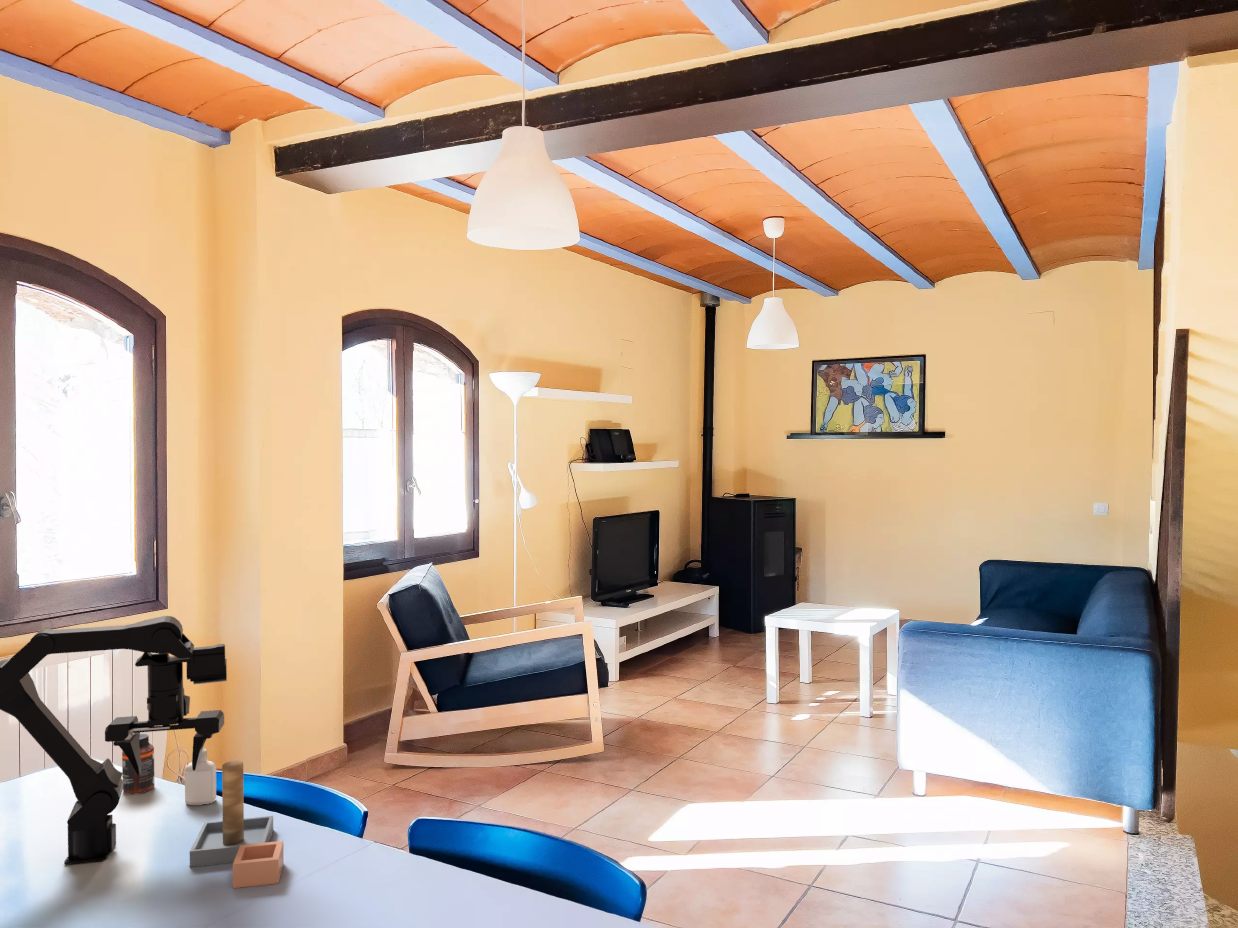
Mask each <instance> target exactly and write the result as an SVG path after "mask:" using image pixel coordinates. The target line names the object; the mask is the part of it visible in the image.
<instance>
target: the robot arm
mask: <svg viewBox="0 0 1238 928" xmlns="http://www.w3.org/2000/svg"><path fill="white" fill-rule="evenodd" d="M183 629H184V628H183V625H182V624H181V622H180V620H178V619H177V618H176V617H174V616H173V615H172V616H171V615H163V616H158V617H153V618H148V619H144V620H141V621H138V622H135V623H134V622H133V623H130V624H129V623H128V624H125V625H111V626H109V625H108V626H94V627H93V626H92V627H75V628H62V629H59V628H58V629H52V628H44V629H41V630H39V631H37V632H36V634H34V635H33V636H32V638H30V640H29V641H28V642H27V643H26V644H25V645H23V646H22V647H21V648H20V649H19V650H18V651H17V652H16V653H15V654H14V655H13V656H11V658H8V659H4V660H0V711H2V712H4V713H6V714H8V715H10V716H11V717H14V718H15V719H16V720H17V721H18V722H19V724H20V725H22V727H23V728H24V729H25V730H26V731H27V732H28V733H29V735H30V736H31V737H32V738H33V739H34V741H36V743H37V744H38V745H39V746H40V747H41V748H42V750H43V751H44V752H45V753H46V754H47V755H48V756H49V757H50V759H51V760H52V761H53V762H54V763H55V764H56V765H57V767H58V768H60V770H61V772H63V773H64V774H65V776H66V777H67V779H68V780H69V783H70V784H71V785H70V786H71V788H72V790H73V793H74V796H75V799H76V801H75V803H74V805H73V807H72V809H71V812H70V814H69V817H68V819H67V821H66V822H67V857H66V858H65V860H64V861H63V862H64V865H71V864H83V863H91V862H101V861H105V860H107V859H108V857H109V856H110V854H112V852H113V850H114V849H115V848H116V846H117V824H116V823H113V814H111V813H112V812H113V811H114V810H115V809H117V807H118V804H119V803H120V799H121V797H122V792H123V777H122V774H123V773H122V771H119V770H118V769H117V768H115V766H114V764H113V762H112V760H111V759H110V758H109V757H108V758H106V759H105V760H104V761H103V762H102V763H101V762H100V761H98V760H96V759H94V758H92V757H91V756H90V755H89V754H88V752H87V751H85V749H84V748H83V747H82V746H81V745H80V743H79V742H78V741H77V740H76V738H74V737H73V735H72V734H71V733H70V732H69V730H67V728H66V727H65V726H64V725H63V724H62V723H61V722H60V720H59V719H58V718H57V716H55V714H53V712H52V711H51V709H49V708H48V706H47V705H46V704H45V703H44V702H43V700H41V698H40V696H39V693H38V690H37V687H36V686H35V685H36V684H35V682H34V680H33V678H32V676H31V675H30V672H31V671H32V670H33V669H34V668H35V667H36V666H37V665H38V664H39V663H40V662H41V661H43V659H45V658H46V657H47V656H49V655H54V654H55V655H56V654H69V653H83V652H98V651H112V650H113V651H114V650H130V651H135V652H141V653H143V654H142V655H141V656H140V657H138V658H137V659H136V660H135V664H134V665H135V667H138V668H139V667H146V666H147V697H146V705H147V706H146V707H147V708H146V710H147V712H148V715H147V716H148V719H147V720H145V721H139V719H138V715H134V716H133V715H131V716H119V717H115V718H114V719H113V720H112V721H111V722H110V723H109V724H108V725H107V726H106V727H105V730H104V741H105V742H107V743H110V742H111V743H112V742H113V743H112V744H113V746H115V747H119V748H120V749H121V751H123V752H124V753H125V755H126V756H127V757H128V759H129V761H130V763H131V764H132V766H133V768H134V770H135V772H136V774H137V775H140V774H141V756H140V747H139V738H140V734H141V733H152V732H163V731H165V732H166V731H177V730H190V729H192V730H193V729H194V731H195V732H196V733H195V735H194V736H193V739H192V741H193V742H192V744H193V745H192V755H191V756H192V758H191V762H192V768H193V770H196V767H197V764H198V761H199V758H200V755H201V752H202V749H203V748H204V745H205V743H206V741H207V740H208V739H211V738H212V737H213V736H214V734H218V733H220V731H221V729H222V728H223V726H224V725H225V713H224V712H223V711H222V709H216V710H204V711H200V712H199V713H198V715H197V717H186V716H187V715H188V714H190V703H191V697H190V696H189V695H185V688H184V663H186V680H189V682H192V683H193V685H201V684H211V683H220V682H221V683H222V682H227V677H228V675H227V674H228V673H227V672H228V670H227V668H228V667H227V661H228V659H227V658H226V644H224V643H220V644H219V643H218V644H215V645H210V646H198V647H197V646H196V647H195V644H194V643H193V642H192V641H191V640H190V639H189V638H188V637H187V636H186V635H185V634H184V633H183V632H184V630H183ZM170 655H171V656H170ZM184 717H185V718H184Z"/></svg>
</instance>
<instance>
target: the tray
mask: <svg viewBox="0 0 1238 928" xmlns="http://www.w3.org/2000/svg"><path fill="white" fill-rule="evenodd" d="M273 833H274V815H266V816H254V817H247V818H245V817H244V840H243V842H241V843H239V844H236V845H230V846H228V845H224V844H223V820H213V821H205V822H203V824H202V826H201V829H200V830H199V832H198V834H197V836H196V837H195V840H194V842H193V844H192V846H191V848H190V850H189V868H193V867H194V868H195V867H203V866H212V865H213V866H214V865H223V864H230V863H232V864H233V862H234V860H235V857H236V855H237V852H238V849H239V847H240V845H247V844H257V843H267V842H271V838H272V836H273Z"/></svg>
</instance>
